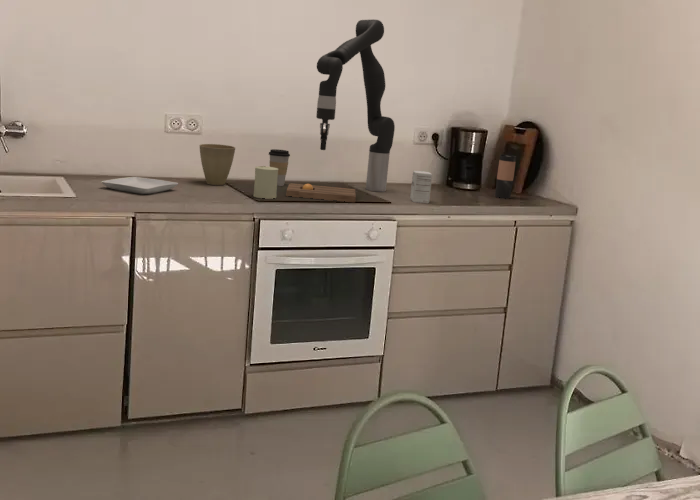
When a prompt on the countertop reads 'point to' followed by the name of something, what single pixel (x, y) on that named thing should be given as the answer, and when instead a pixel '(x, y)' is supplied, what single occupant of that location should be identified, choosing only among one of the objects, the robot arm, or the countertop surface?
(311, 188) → the ball
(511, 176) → the travel mug
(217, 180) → the plant pot
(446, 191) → the countertop surface
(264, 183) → the can
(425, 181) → the supplement box
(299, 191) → the wooden cutting board
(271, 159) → the coffee cup
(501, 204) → the countertop surface
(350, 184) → the countertop surface
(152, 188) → the salad plate
